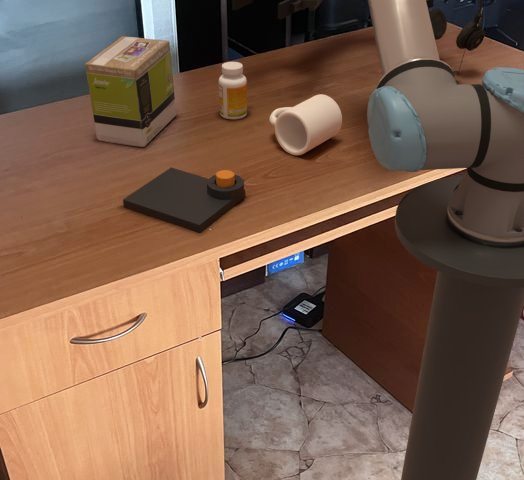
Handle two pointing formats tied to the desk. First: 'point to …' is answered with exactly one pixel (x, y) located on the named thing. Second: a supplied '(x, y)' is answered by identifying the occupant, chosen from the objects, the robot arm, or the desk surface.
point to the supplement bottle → (232, 91)
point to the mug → (306, 124)
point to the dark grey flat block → (185, 199)
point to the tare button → (225, 178)
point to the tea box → (131, 90)
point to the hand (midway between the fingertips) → (256, 7)
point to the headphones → (469, 34)
